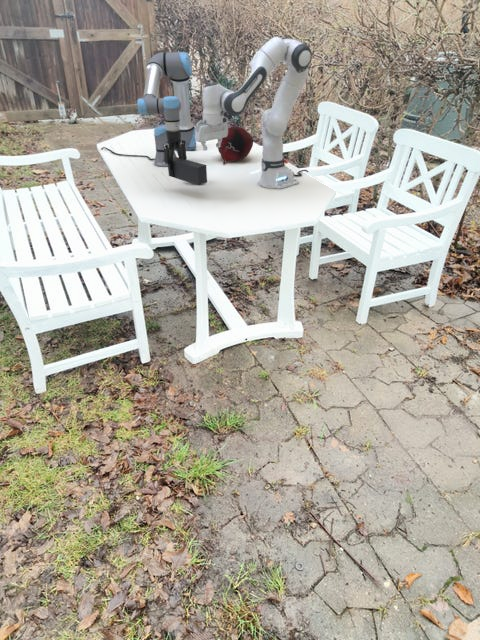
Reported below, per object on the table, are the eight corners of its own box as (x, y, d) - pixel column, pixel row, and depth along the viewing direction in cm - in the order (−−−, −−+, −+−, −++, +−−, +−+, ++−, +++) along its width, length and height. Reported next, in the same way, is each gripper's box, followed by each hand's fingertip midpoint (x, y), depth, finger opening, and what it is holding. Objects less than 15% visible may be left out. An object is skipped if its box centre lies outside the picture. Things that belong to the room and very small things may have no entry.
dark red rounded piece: (214, 132, 305) (214, 129, 282) (248, 124, 304) (250, 121, 281) (221, 164, 312) (221, 164, 288) (254, 157, 311) (257, 156, 288)
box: (168, 176, 244) (167, 159, 239) (177, 173, 248) (175, 156, 243) (198, 185, 231) (197, 167, 226) (207, 182, 235) (206, 165, 230)
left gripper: (163, 134, 223) (168, 180, 236) (191, 128, 235) (194, 172, 248) (153, 132, 227) (158, 177, 240) (182, 126, 239) (185, 169, 252)
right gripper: (200, 123, 213) (201, 153, 221) (230, 118, 226) (229, 146, 234) (191, 121, 216) (192, 150, 224) (221, 116, 229) (221, 144, 237)
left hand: (177, 175), depth 244 cm, fingers closed on box, 6 cm apart
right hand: (211, 148), depth 229 cm, fingers open, 8 cm apart
